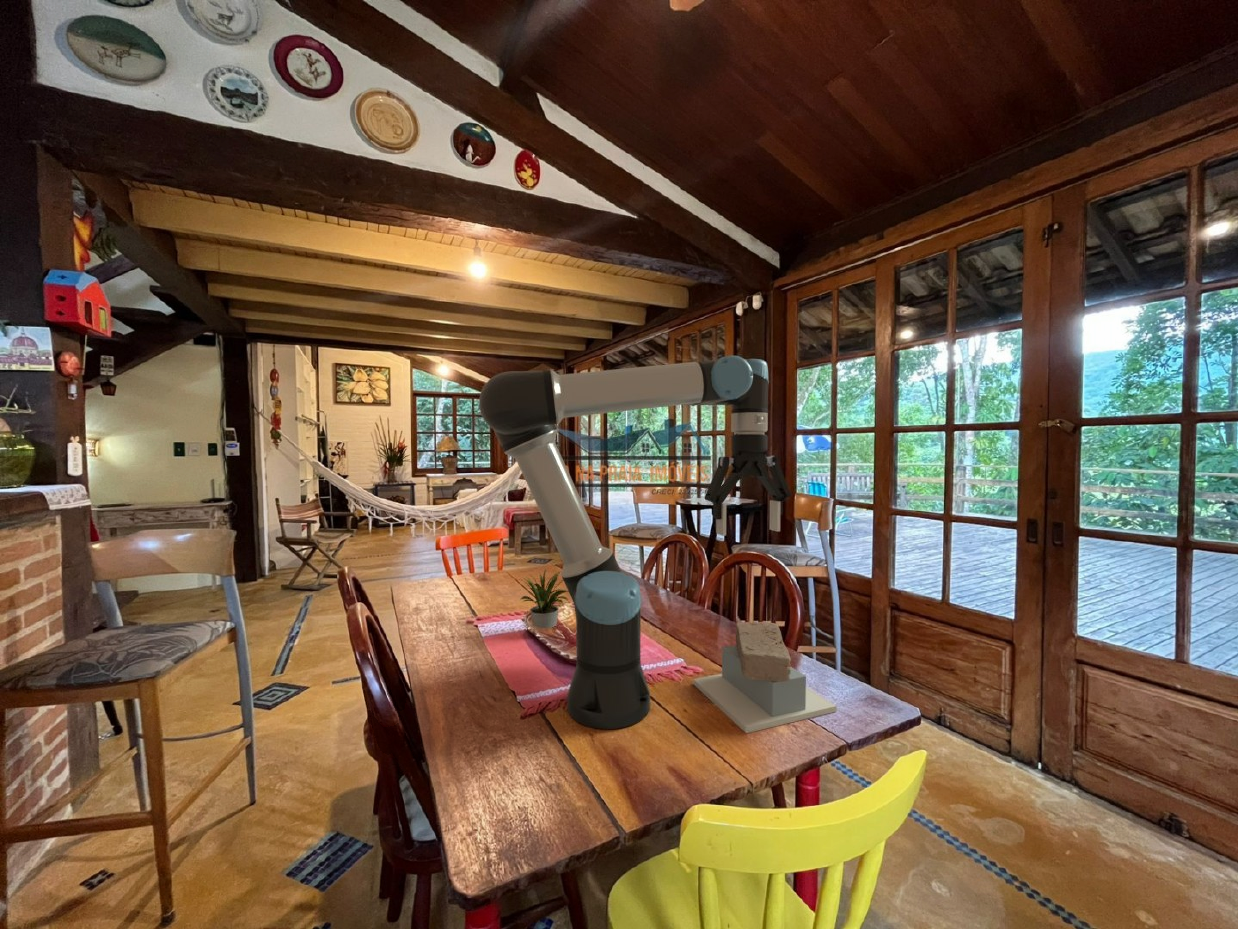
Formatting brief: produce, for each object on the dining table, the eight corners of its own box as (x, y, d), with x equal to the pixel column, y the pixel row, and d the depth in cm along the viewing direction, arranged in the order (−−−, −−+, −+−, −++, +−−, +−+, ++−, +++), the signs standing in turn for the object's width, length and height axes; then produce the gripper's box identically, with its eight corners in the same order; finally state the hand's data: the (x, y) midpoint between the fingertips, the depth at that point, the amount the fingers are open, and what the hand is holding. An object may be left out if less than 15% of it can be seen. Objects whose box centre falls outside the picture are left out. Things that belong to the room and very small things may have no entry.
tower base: (746, 733, 82) (746, 691, 82) (693, 684, 99) (693, 649, 99) (836, 711, 89) (837, 673, 89) (772, 668, 106) (772, 636, 105)
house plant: (517, 650, 116) (516, 580, 115) (507, 629, 128) (506, 567, 128) (575, 640, 121) (575, 574, 120) (560, 622, 134) (560, 561, 133)
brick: (792, 683, 85) (792, 656, 85) (741, 679, 86) (742, 652, 86) (777, 645, 101) (777, 622, 101) (735, 642, 103) (735, 619, 102)
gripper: (707, 433, 98) (706, 539, 99) (808, 433, 107) (807, 531, 108) (688, 433, 105) (688, 533, 106) (785, 434, 114) (784, 526, 115)
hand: (748, 532), depth 107 cm, fingers open, 13 cm apart
